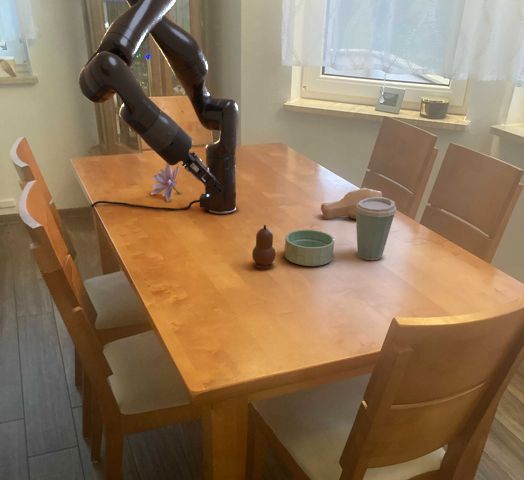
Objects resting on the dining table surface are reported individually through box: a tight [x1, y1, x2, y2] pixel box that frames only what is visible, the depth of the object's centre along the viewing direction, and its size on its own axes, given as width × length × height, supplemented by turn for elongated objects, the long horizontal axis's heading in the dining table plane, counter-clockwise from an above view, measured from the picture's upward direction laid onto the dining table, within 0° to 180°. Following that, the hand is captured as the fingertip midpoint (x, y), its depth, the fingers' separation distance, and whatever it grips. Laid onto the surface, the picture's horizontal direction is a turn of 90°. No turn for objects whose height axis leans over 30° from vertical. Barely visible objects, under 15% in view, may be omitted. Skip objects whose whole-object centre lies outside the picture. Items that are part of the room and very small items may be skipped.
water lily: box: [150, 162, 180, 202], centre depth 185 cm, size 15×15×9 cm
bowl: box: [284, 229, 335, 267], centre depth 145 cm, size 13×13×6 cm
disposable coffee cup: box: [355, 196, 397, 261], centre depth 144 cm, size 11×11×15 cm
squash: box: [320, 186, 383, 220], centre depth 172 cm, size 11×20×9 cm, turn 100°
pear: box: [251, 224, 277, 271], centre depth 138 cm, size 6×6×11 cm
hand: (218, 187), depth 126 cm, fingers open, 8 cm apart
